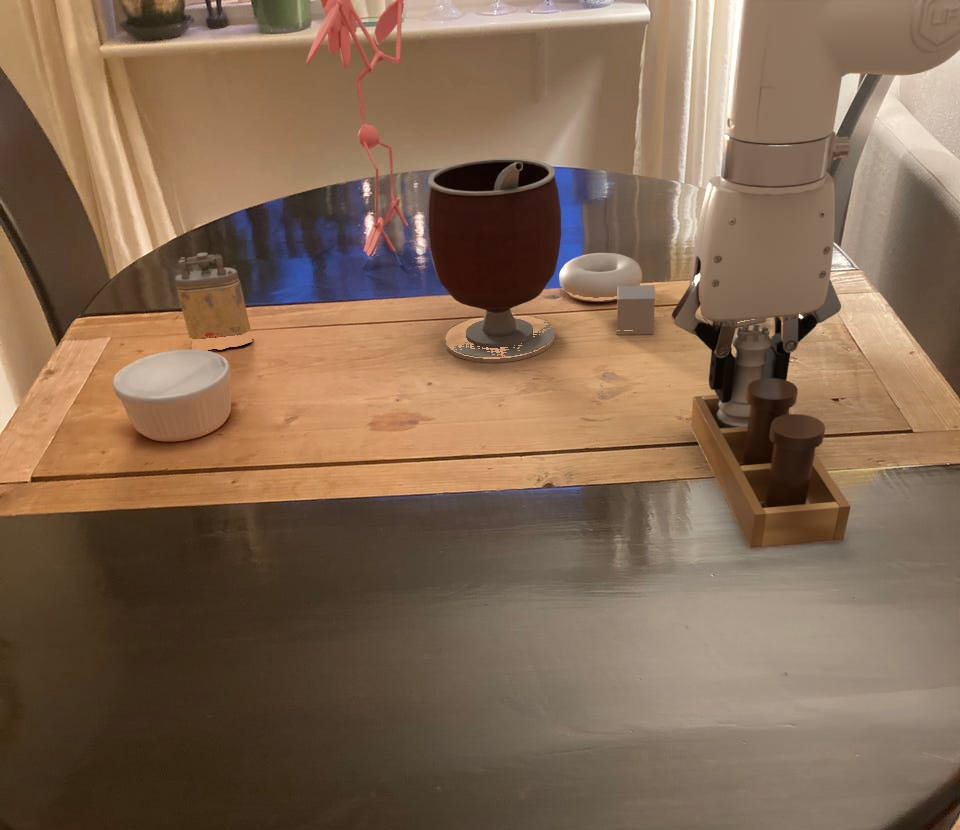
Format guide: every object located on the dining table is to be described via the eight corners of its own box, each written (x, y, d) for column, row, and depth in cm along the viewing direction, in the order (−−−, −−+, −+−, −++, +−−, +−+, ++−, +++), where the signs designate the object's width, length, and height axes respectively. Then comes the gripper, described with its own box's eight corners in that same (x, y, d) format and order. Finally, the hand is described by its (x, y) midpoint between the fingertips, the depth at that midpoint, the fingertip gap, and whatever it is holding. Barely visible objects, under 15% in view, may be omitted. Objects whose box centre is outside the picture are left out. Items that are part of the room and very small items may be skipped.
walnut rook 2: (799, 502, 76) (816, 411, 71) (816, 530, 73) (834, 436, 68) (750, 507, 76) (762, 415, 71) (764, 534, 73) (778, 441, 68)
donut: (639, 307, 111) (643, 275, 119) (640, 278, 109) (645, 247, 117) (554, 307, 113) (563, 276, 121) (554, 278, 111) (563, 248, 118)
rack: (766, 426, 87) (772, 389, 85) (842, 546, 72) (851, 505, 70) (689, 432, 87) (693, 396, 85) (749, 554, 72) (754, 514, 70)
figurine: (435, 224, 141) (409, -71, 118) (394, 287, 121) (354, -51, 99) (335, 225, 143) (292, -63, 121) (280, 288, 124) (215, -42, 101)
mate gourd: (423, 329, 110) (403, 138, 97) (536, 308, 113) (531, 120, 100) (463, 381, 99) (446, 173, 86) (587, 356, 101) (589, 151, 89)
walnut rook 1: (776, 464, 81) (790, 375, 76) (791, 488, 78) (806, 397, 73) (729, 468, 81) (740, 379, 76) (742, 492, 78) (754, 401, 73)
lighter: (254, 335, 112) (235, 247, 106) (253, 348, 109) (233, 258, 103) (193, 342, 112) (170, 255, 105) (190, 355, 109) (166, 266, 102)
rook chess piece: (756, 405, 85) (768, 317, 80) (777, 428, 81) (791, 337, 76) (708, 412, 84) (717, 323, 79) (727, 435, 81) (737, 344, 76)
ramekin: (233, 443, 91) (219, 391, 88) (116, 453, 91) (99, 402, 88) (247, 392, 100) (235, 343, 97) (140, 401, 100) (125, 353, 97)
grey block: (652, 320, 108) (654, 284, 105) (653, 334, 105) (655, 298, 102) (616, 321, 109) (617, 285, 106) (616, 334, 105) (617, 299, 103)
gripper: (868, 139, 73) (826, 367, 84) (652, 156, 72) (640, 383, 84) (907, 163, 67) (857, 405, 79) (673, 183, 67) (658, 422, 78)
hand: (745, 391), depth 81 cm, fingers closed on rook chess piece, 3 cm apart
